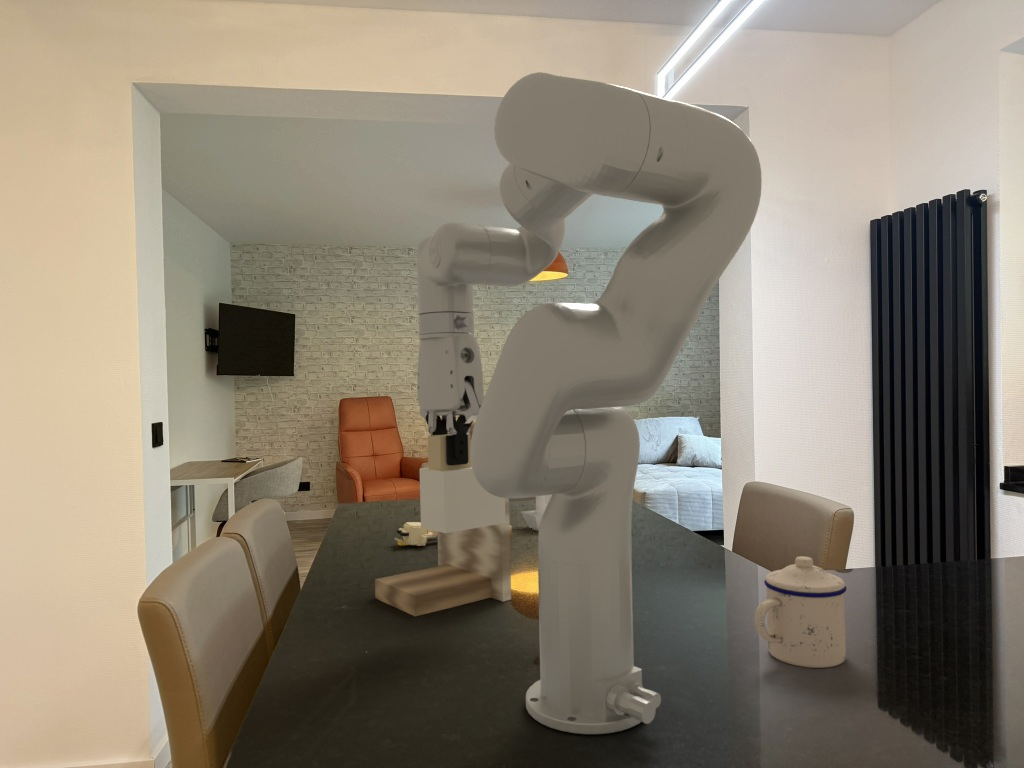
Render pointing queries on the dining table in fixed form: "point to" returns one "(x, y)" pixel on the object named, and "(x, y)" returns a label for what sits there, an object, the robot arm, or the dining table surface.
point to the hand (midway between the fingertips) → (449, 462)
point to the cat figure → (418, 534)
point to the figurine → (536, 512)
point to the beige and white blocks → (454, 494)
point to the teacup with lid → (804, 615)
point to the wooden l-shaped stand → (455, 572)
